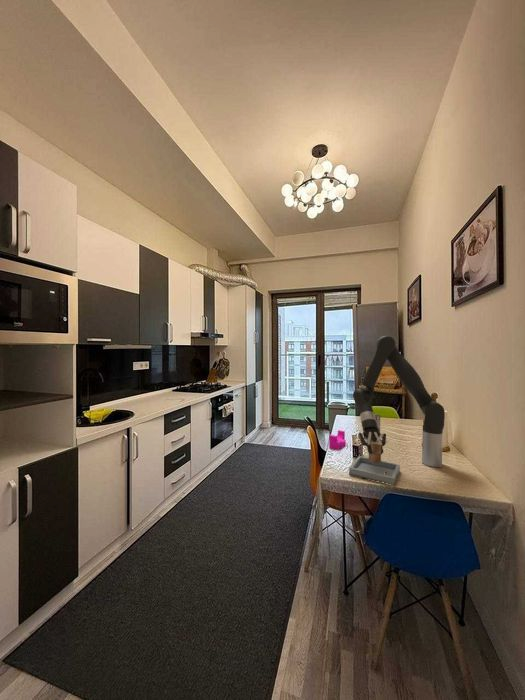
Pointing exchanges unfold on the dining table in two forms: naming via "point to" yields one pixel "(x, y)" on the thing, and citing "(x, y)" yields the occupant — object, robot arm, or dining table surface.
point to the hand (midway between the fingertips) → (376, 453)
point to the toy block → (337, 440)
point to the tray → (375, 470)
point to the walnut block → (375, 452)
